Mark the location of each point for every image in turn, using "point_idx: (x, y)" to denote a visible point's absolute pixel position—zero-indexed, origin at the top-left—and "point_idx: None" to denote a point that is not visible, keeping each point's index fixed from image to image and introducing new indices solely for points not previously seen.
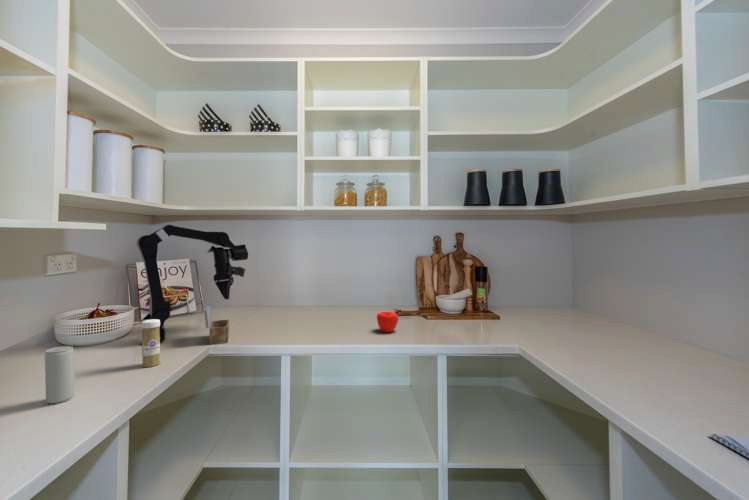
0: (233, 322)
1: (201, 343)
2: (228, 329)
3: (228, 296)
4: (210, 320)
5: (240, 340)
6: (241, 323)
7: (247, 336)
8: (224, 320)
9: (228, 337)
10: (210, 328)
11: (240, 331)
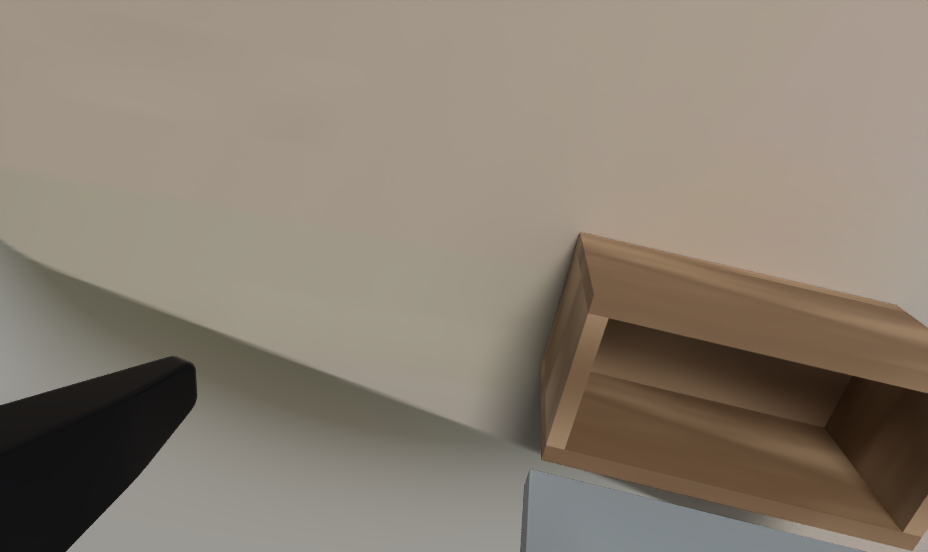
0: (60, 80)
1: None
2: (755, 301)
3: (145, 399)
4: (652, 517)
5: (911, 184)
6: (143, 2)
7: (809, 79)
8: (598, 346)
9: (737, 270)
10: (914, 540)
11: (530, 100)
